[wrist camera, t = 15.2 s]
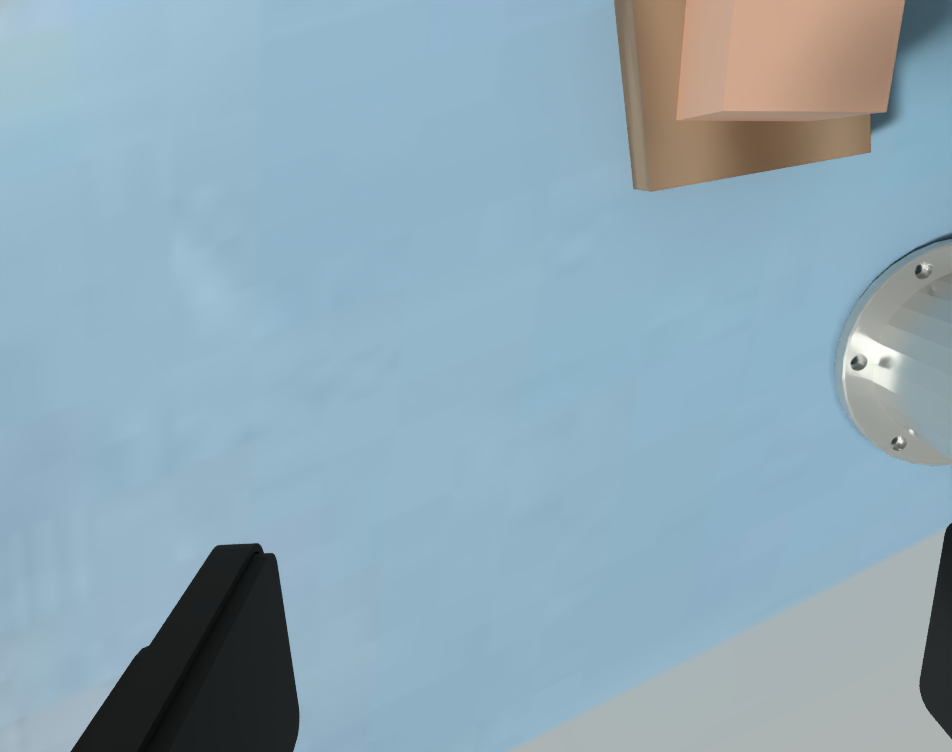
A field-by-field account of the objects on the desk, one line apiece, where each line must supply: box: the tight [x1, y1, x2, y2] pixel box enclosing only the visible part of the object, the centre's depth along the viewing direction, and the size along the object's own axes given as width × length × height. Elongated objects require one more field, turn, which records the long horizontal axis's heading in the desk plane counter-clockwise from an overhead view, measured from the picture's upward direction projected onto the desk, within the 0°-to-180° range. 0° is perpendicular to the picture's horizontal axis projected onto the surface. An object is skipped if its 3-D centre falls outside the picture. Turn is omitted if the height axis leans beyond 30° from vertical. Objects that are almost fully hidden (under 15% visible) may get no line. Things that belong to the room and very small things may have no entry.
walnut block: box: [614, 0, 871, 192], centre depth 32 cm, size 10×10×4 cm
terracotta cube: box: [676, 0, 905, 121], centre depth 27 cm, size 6×6×6 cm
